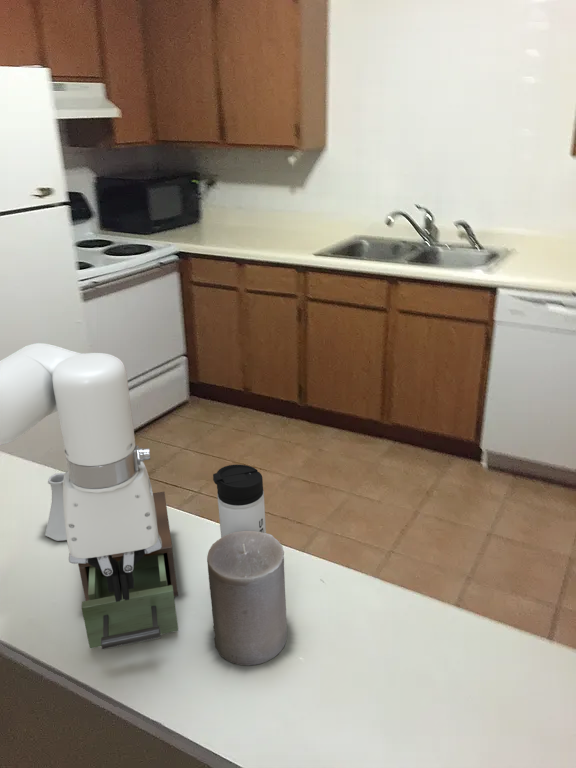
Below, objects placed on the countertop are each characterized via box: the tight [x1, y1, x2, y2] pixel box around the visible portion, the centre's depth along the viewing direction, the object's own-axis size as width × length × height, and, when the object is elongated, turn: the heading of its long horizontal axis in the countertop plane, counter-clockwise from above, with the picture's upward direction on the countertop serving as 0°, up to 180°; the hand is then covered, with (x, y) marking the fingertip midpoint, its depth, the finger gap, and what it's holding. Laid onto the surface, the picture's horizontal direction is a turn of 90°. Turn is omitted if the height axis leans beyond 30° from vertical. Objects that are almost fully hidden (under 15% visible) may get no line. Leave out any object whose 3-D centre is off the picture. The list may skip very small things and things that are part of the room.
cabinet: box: [77, 491, 179, 601], centre depth 100 cm, size 15×13×9 cm
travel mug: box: [212, 464, 267, 538], centre depth 92 cm, size 6×7×20 cm
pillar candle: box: [206, 531, 288, 666], centre depth 85 cm, size 10×10×15 cm
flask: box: [44, 472, 67, 542], centre depth 110 cm, size 7×7×10 cm
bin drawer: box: [81, 553, 179, 650], centre depth 90 cm, size 19×11×7 cm, turn 14°
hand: (122, 592), depth 82 cm, fingers closed
